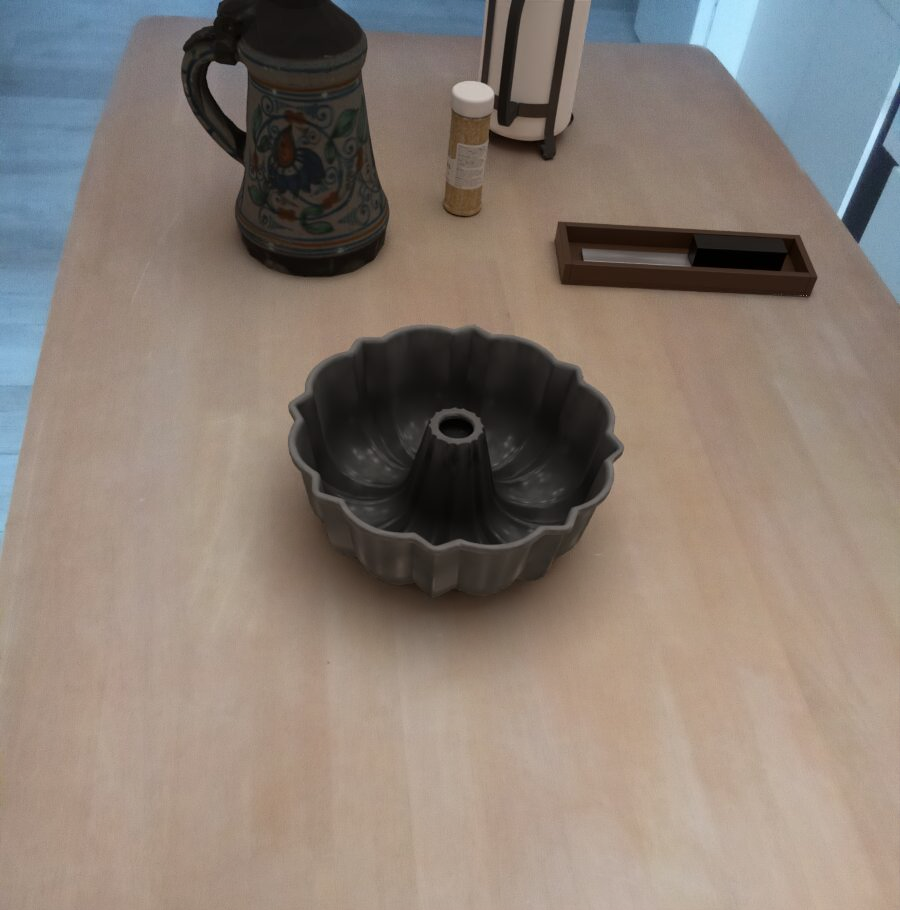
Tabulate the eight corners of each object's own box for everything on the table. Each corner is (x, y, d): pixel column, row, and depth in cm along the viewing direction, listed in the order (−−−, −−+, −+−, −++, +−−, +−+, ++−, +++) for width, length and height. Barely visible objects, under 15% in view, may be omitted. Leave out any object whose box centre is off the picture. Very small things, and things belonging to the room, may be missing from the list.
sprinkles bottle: (444, 194, 119) (453, 76, 108) (483, 198, 119) (496, 81, 108) (441, 215, 116) (450, 97, 106) (480, 220, 116) (493, 102, 106)
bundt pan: (269, 426, 92) (261, 336, 85) (542, 393, 98) (559, 305, 90) (324, 661, 77) (321, 577, 69) (644, 604, 83) (675, 521, 75)
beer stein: (412, 262, 110) (426, 15, 90) (238, 298, 104) (212, 41, 84) (354, 184, 119) (355, -57, 99) (191, 213, 112) (157, -38, 93)
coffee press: (436, 111, 131) (455, -171, 107) (547, 97, 136) (588, -177, 112) (491, 181, 121) (525, -112, 98) (608, 163, 126) (667, -121, 103)
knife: (773, 262, 114) (782, 238, 112) (778, 276, 113) (787, 252, 110) (580, 252, 113) (585, 227, 110) (582, 266, 111) (587, 241, 109)
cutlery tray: (792, 254, 117) (800, 234, 115) (809, 296, 112) (818, 277, 110) (554, 241, 115) (557, 221, 113) (561, 284, 110) (565, 263, 108)
